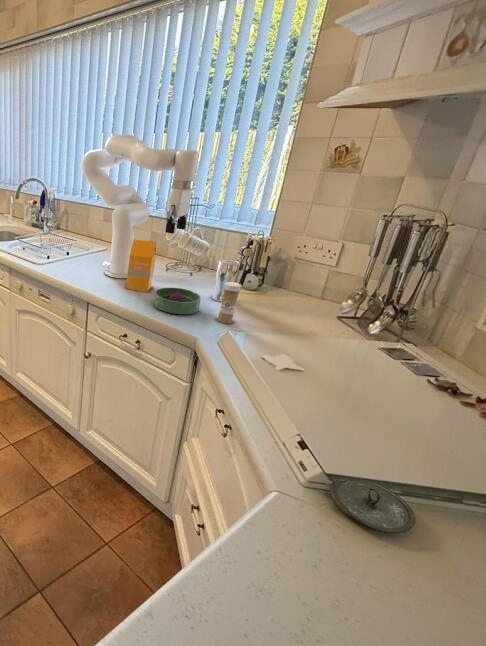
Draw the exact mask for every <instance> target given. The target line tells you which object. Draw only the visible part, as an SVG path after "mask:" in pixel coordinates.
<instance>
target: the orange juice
mask: <svg viewBox="0 0 486 646" xmlns="http://www.w3.org/2000/svg"><path fill="white" fill-rule="evenodd" d="M156 242H157V241H151V240H142V239H134V240H133V244H132V248H131V252H130V257H129V266H128V274H127V278H126V285H125V289H127V290H133V291H138V292H143V293H148V292H149V291H150V290H151V288H152V283H153V277H154V273H155V272H154V271H155V262H156V258H157V257H156V256H157V243H156Z"/></svg>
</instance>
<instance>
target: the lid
mask: <svg viewBox="0 0 486 646" xmlns="http://www.w3.org/2000/svg"><path fill="white" fill-rule="evenodd" d="M333 480H334V479H333ZM333 480H332V481H331V483H330V485H329V494H330V497H331V500H332V501H333V503H334V505H335V506H336V507H337V508H338V510H340V511H341V512H342V514H345V515H346V516H348V517H349V518H350V519H352V520H354V521H355V522H357V523H359V524H361V525H363V526H365V527H368V528H370V529H372V530H376V531H378V532H382V533H390V534H400V533H406V532H408V531H411V530H412V529H413V528H414V527H415V526H416V522H417V518H416V515H415V512H414V510H413V508H411V506H410V505H409V504H408V503H407V501H405V500H404V499H403V498H402V497H400V495H398V493H396V492H395V491H392V490H391V489H389V488H387V487H385V486H384V485H382V484H380V485H378V484H379V483H378V484H373V483H371V484H370V483H352V482H347V481H339V480H336V481H335V480H334V481H333Z"/></svg>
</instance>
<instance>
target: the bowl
mask: <svg viewBox="0 0 486 646" xmlns="http://www.w3.org/2000/svg"><path fill="white" fill-rule="evenodd" d="M173 293H180V294H182V295H183V297H184V302H177V301H171V300H169V298H170V296H171V295H172V294H173ZM201 300H202V299H201V295H199V293H197V292H195V291H192V290H191V289H185V288H182V287H181V288H180V287H161V288H158V289H156V290H155V291H154V297H153V306H154V307H155V309H158V310H160V311H162V312H166V313H169V314H175V315H191V314H195V313H197V312H198V311H199V309H200V304H201Z"/></svg>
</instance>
